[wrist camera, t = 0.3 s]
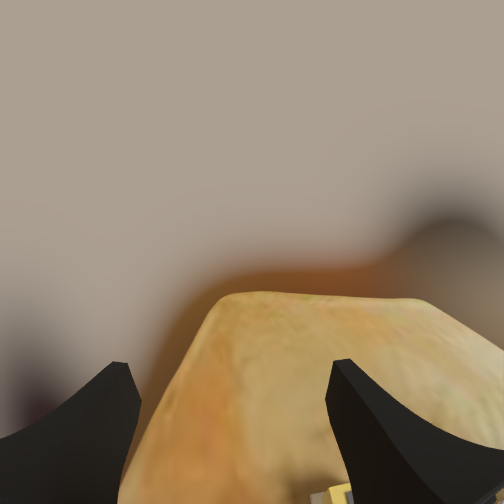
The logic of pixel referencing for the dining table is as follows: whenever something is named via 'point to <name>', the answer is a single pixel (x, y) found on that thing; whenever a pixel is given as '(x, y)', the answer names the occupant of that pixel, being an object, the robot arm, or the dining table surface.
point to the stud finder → (338, 495)
